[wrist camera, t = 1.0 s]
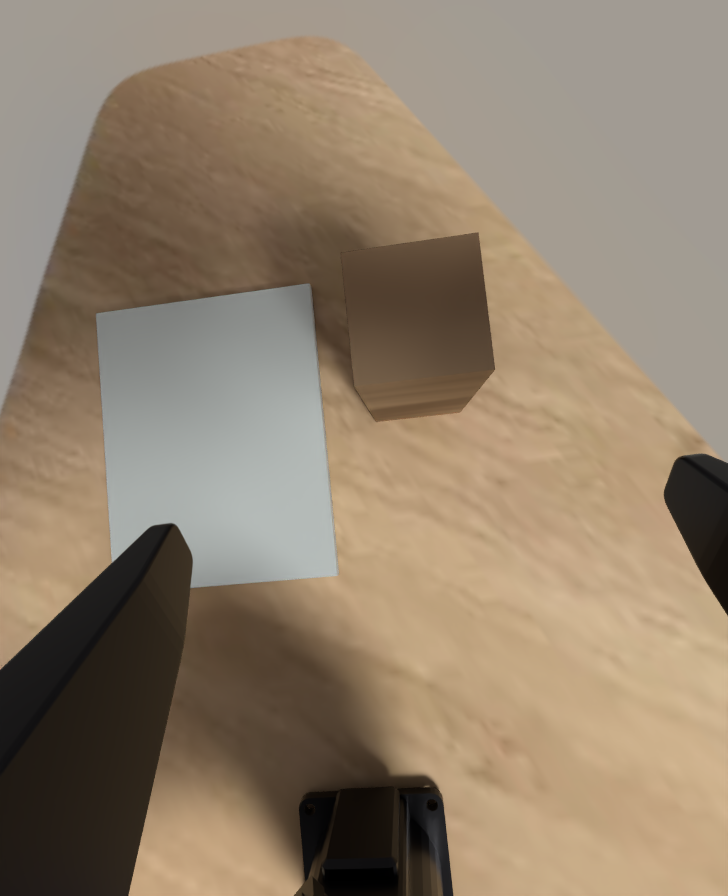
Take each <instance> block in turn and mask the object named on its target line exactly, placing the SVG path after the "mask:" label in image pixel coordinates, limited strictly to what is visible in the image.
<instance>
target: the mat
mask: <svg viewBox="0 0 728 896" xmlns="http://www.w3.org/2000/svg"><path fill="white" fill-rule="evenodd" d="M96 323H97V338H98V354H99V369H100V385H101V400H102V416H103V431H104V447H105V463H106V478H107V494H108V509H109V525H110V540H111V556H112V562H113V561H114V560H116V559H117V558H118V557H119V556H120V555H121V554H122V553H123V552H124V551H125V550H126V549H127V548H128V547H129V546H130V545H131V544H132V543H133V542H134V541H135V540H136V539H137V538H138V537H140V536H141V535H142V534H143V533H144V532H145V531H146V530H147V529H148V528H149V527H151V526H153V525H158V524H166V523H174V524H176V525H177V526H178V528H179V529H180V531H181V533H182V535H183V537H184V539H185V541H186V543H187V545H188V547H189V549H190V550H191V553H192V557H193V568H192V578H191V587H190V588H196V587H208V586H220V585H232V584H244V583H257V582H269V581H281V580H293V579H305V578H317V577H329V576H338V574H339V569H338V559H337V548H336V538H335V527H334V517H333V507H332V496H331V486H330V475H329V465H328V454H327V444H326V434H325V423H324V413H323V402H322V392H321V382H320V371H319V361H318V350H317V340H316V330H315V319H314V309H313V298H312V288H311V286H310V284H309V283H308V284H301V285H294V286H287V287H280V288H273V289H266V290H258V291H251V292H244V293H237V294H230V295H223V296H216V297H209V298H202V299H195V300H187V301H180V302H173V303H166V304H159V305H152V306H145V307H138V308H131V309H124V310H116V311H109V312H102V313H96Z"/></svg>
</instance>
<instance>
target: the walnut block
mask: <svg viewBox="0 0 728 896" xmlns="http://www.w3.org/2000/svg"><path fill="white" fill-rule="evenodd" d="M341 261H342V270H343V280H344V290H345V300H346V310H347V320H348V330H349V340H350V350H351V360H352V370H353V380H354V387H355V389H356V390H357V392H358V393H359V395H360V397H361V398H362V400H363V401H364V403H365V405H366V406H367V408H368V410H369V411H370V413H371V414H372V416H373V418H374V419H375V421H376V422H380V421H389V420H397V419H406V418H415V417H424V416H433V415H442V414H451V413H460V412H461V411H462V410H463V408H464V407H465V406H466V405H467V403H468V402H469V401H470V400H471V398H472V397H473V396H474V395H475V394H476V392H477V391H478V390H479V389H480V387H481V386H482V385H483V384H484V383H485V381H486V380H487V379H488V378H489V376H490V375H491V374H492V373H493V371H494V370H495V365H494V357H493V348H492V340H491V332H490V324H489V316H488V307H487V299H486V291H485V283H484V275H483V266H482V258H481V250H480V242H479V233H471V234H464V235H458V236H451V237H444V238H437V239H430V240H423V241H417V242H410V243H403V244H396V245H389V246H382V247H376V248H369V249H362V250H355V251H348V252H341Z"/></svg>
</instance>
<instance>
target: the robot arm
mask: <svg viewBox="0 0 728 896" xmlns="http://www.w3.org/2000/svg"><path fill="white" fill-rule="evenodd" d="M664 499H665V503H666V505H667V507H668V509H669V511H670V513H671V515H672V517H673V519H674V521H675V523H676V525H677V527H678V529H679V531H680V533H681V535H682V537H683V539H684V541H685V543H686V545H687V547H688V549H689V551H690V553H691V555H692V557H693V559H694V561H695V563H696V565H697V567H698V568H699V570H700V572H701V574H702V576H703V577H704V579H705V581H706V582H707V584H708V586H709V587H710V589H711V591H712V592H713V594H714V595H715V597H716V598H717V600H718V601H719V603H720V605H721V606H722V608H723V609H724V611H725V612H726V614H727V615H728V463H726V462H724V461H721V460H719V459H717V458H714V457H712V456H710V455H707V454H693V455H685V456H681V457H678V458H677V459H676V460H675V462H674V464H673V467H672V470H671V472H670V475H669V478H668V481H667V484H666V486H665V489H664ZM192 568H193V557H192V553H191V550H190V549H189V547H188V545H187V543H186V541H185V539H184V537H183V535H182V533H181V531H180V529H179V528H178V526H177V525H176V524H174V523H166V524H158V525H153V526H151V527H149V528H148V529H147V530H146V531H145V532H144V533H143V534H142V535H141V536H140V537H138V538H137V539H136V540H135V541H134V542H133V543H132V544H131V545H130V546H129V547H128V548H127V549H126V550H125V551H124V552H123V553H122V554H121V555H120V556H119V557H118V558H117V559H116V560H114V561H113V562H112V563H111V564H110V565H109V566H108V567H107V568H106V569H105V570H104V571H103V572H102V573H101V574H100V575H99V576H98V577H97V578H96V579H95V580H94V581H93V582H91V583H90V584H89V585H88V586H87V587H86V588H85V589H84V590H83V591H82V592H81V593H80V594H79V595H78V596H77V597H76V598H75V599H74V600H73V601H72V602H71V603H70V604H69V605H67V606H66V607H65V608H64V609H63V610H62V611H61V612H60V613H59V614H58V615H57V616H56V617H55V618H54V619H53V620H52V621H51V622H50V623H49V624H48V625H47V626H46V627H44V628H43V629H42V630H41V631H40V632H39V633H38V634H37V635H36V636H35V637H34V638H33V639H32V640H31V641H30V642H29V643H28V644H27V645H26V646H25V647H24V648H23V649H22V650H20V651H19V652H18V653H17V654H16V655H15V656H14V657H13V658H12V659H11V660H10V661H9V662H8V663H7V664H6V665H5V666H4V667H3V668H2V669H1V670H0V896H128V894H129V890H130V885H131V881H132V876H133V872H134V867H135V863H136V858H137V854H138V849H139V845H140V840H141V836H142V832H143V827H144V823H145V818H146V814H147V809H148V805H149V800H150V796H151V791H152V787H153V782H154V778H155V773H156V769H157V764H158V760H159V755H160V751H161V746H162V742H163V737H164V733H165V728H166V724H167V719H168V715H169V710H170V706H171V701H172V697H173V692H174V688H175V683H176V679H177V674H178V670H179V665H180V661H181V656H182V651H183V646H184V640H185V633H186V624H187V615H188V606H189V596H190V587H191V578H192ZM430 799H434V800H435V801H436V803H435V804H433V805H431V804H429V803H427V801H428V800H430ZM307 804H312V805H313V806H314V807H315V809H309V808H308V807H307ZM299 815H300V826H301V838H302V849H303V861H304V872H305V883H304V884H303V885H302V886H301V888H300V889H299V890H298V891H297V892H296V894H295V895H294V896H453V889H452V879H451V870H450V861H449V851H448V842H447V833H446V824H445V814H444V805H443V797H442V794H441V793H440V791H439V790H437V789H436V788H432V787H425V788H400V789H396V788H394V787H375V788H351V789H341V790H340V791H327V792H309V793H306V794H305V795H304V796H303V798H302V800H301V803H300V806H299Z"/></svg>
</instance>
